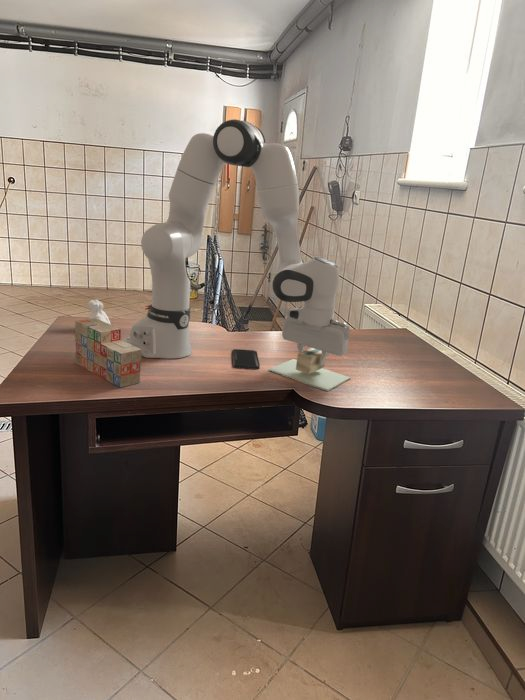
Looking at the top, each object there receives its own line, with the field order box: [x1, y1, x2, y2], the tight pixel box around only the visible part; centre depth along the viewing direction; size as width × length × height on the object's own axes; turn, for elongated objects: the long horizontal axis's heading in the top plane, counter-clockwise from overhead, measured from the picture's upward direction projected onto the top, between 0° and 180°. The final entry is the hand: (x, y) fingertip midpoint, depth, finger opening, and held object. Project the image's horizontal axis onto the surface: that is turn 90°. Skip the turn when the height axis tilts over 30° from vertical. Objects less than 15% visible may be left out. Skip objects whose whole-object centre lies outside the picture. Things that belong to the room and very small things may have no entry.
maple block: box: [296, 347, 326, 374], centre depth 150 cm, size 9×4×5 cm, turn 145°
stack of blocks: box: [74, 318, 142, 388], centre depth 136 cm, size 21×6×12 cm, turn 49°
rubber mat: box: [267, 358, 351, 392], centre depth 152 cm, size 20×14×1 cm
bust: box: [86, 299, 112, 325], centre depth 170 cm, size 12×8×11 cm
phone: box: [231, 348, 261, 370], centre depth 158 cm, size 8×1×15 cm
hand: (311, 361), depth 151 cm, fingers closed on maple block, 4 cm apart
